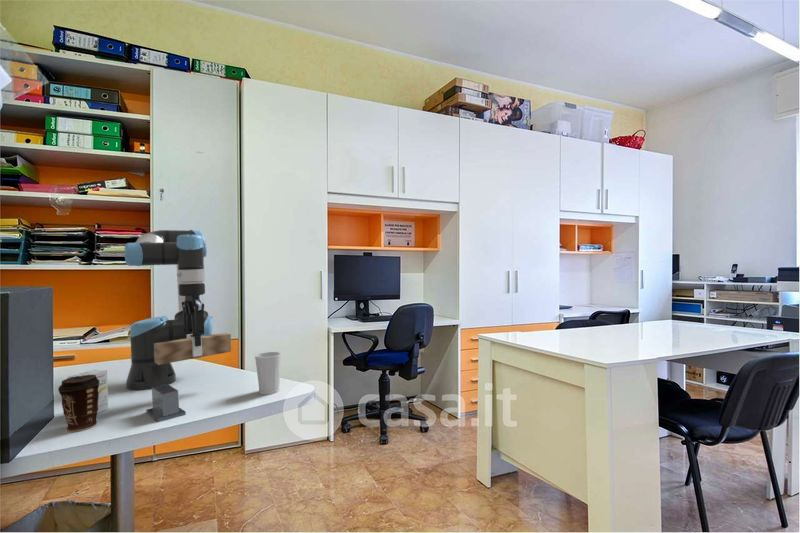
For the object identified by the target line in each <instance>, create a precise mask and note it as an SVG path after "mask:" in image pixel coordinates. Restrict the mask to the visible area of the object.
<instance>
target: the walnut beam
mask: <svg viewBox="0 0 800 533" xmlns="http://www.w3.org/2000/svg"><path fill="white" fill-rule="evenodd" d="M231 335H232V334H231V333H229V332H222V333H215V334H212V335H207V336H202V356H197V357H193V355H192V338H187V339H180V340H173V341H167V342H160V343H154V362H155V363H156V364H158V365H161V364H167V363H171V364H172V363H177V362H182V361H187V360H193V359H197V358H198V359H199V358H203V357H209V356H214V355H221V354H225V353H231V352H232V340H231V339H232V338H231V337H232V336H231Z"/></svg>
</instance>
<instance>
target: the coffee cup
mask: <svg viewBox="0 0 800 533" xmlns="http://www.w3.org/2000/svg"><path fill="white" fill-rule="evenodd" d="M98 388H99V380H98V379H97V377H96V375H83V376H76V377H71V378H69V379H67V378H66V379H64V380H62V381H61V384H60V385H59V387H58V393H59V395H60V396H61V406H62V407H61V408H62V411H63V414H62V415H64V417H65V421H66V424H67V426H66V430H67V431H66V430H65V431H66V432H68V431H69V433H78V432H82V431H85V430H89V429H91V428H93V427H94V426H96V425H98V424H97V423H98V420H97V415H98V413H97V411H98V399H99V393H98Z"/></svg>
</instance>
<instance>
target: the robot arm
mask: <svg viewBox="0 0 800 533" xmlns="http://www.w3.org/2000/svg"><path fill="white" fill-rule="evenodd" d="M207 251H208V250H207V244H206V239H205V236H204V233H203V232H202V231H201V230H193V229H189V230H186V229H185V230H184V229H183V230H179V229H178V230H177V229H176V230H174V229H170V230H169V229H167V230H166V229H163V230H162V229H161V230H160V229H159V230H154V231H149V232H147V233H144V234H142V235H141V236H139V237H138V238H137V240H135V242H127V243H125V245H124V260H125V264H126V265H127V266H129V267H141V266H143V267H144V266H171V265H172V266H176V278H177V279H176V282H177V302H178V303H177V304H178V311H177V312H176V313H175V314H174V316H173V317H174V319H169V318H168V316H166V315H164V316H163V315H162V316H154V317H150V318H145V319H142V320H139V321H135V322H133V323H132V324H131V325H130V327H129V328H130V332H129V334H130V335H129V338H130V355H131V357H130V358H131V362H130V363H131V365H130V369H129V372H128V375H127V378H126V389H128V390H147V389H152V387H155V386H160V385H164V384H168V385H170V384H172V383H174V382H175V381H176V379H177V378H176V377H177V376H176V372H175V369H174V366H173V364H172V363H167V364H161V365H158V364H156V363H155V362H154V343H160V342H167V341H173V340H180V339H187V338H192V355H193V357H197V356H202V336H207V335H213V323H214V322H213V321H214V319H213V318H214V317H213V316H212V315H209V312H208V311H207V310H206V309H205V303H204V301H203V300H204V299H203V298H204V297H203V295H205V293H206V284H205V283H204V282H205V280H206V277H205V275H206V273H205V264H204V262H205V261H204V258H206V257H207Z"/></svg>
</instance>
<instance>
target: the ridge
mask: <svg viewBox="0 0 800 533" xmlns="http://www.w3.org/2000/svg"><path fill="white" fill-rule="evenodd" d="M151 401H152V407H151V408H148V409H146V411H145V412H146V414H147V415H148V416H150V417H151V418H153V420H154V421H156V422H157V423H159V422H164V421H167V420H171V419H175V418H178V417H182V416H185V415H186V414H187V413H186V412H187V411H185V410H184V409H182V408H181V407H180V402H179V390H178V389H177V388H175V387H173V386H172V385H170V384H164V385H160V386H155V387H152V388H151Z"/></svg>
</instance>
